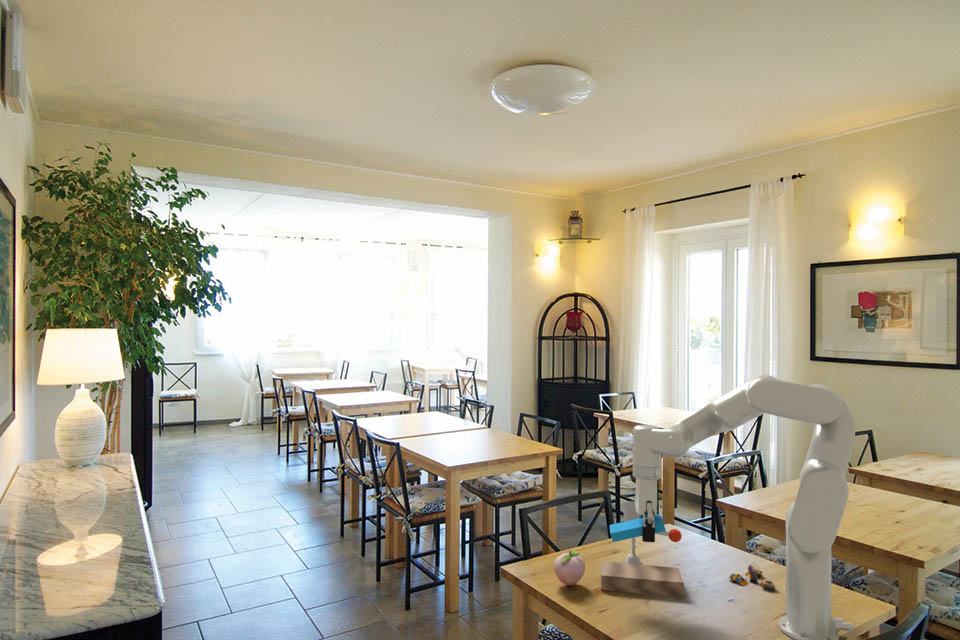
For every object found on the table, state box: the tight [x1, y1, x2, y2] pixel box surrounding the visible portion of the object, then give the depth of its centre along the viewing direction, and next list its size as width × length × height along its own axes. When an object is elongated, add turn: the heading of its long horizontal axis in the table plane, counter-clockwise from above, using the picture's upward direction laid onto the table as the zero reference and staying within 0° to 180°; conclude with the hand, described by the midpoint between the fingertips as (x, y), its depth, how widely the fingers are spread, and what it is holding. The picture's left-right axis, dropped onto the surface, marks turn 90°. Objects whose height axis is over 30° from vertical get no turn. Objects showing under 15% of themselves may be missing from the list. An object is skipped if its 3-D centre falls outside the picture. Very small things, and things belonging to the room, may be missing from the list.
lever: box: [609, 513, 682, 543], centre depth 157 cm, size 7×7×18 cm
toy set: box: [729, 564, 776, 593], centre depth 166 cm, size 12×11×5 cm
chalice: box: [621, 500, 643, 565], centre depth 180 cm, size 7×7×18 cm
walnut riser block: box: [600, 560, 685, 598], centre depth 164 cm, size 22×10×4 cm, turn 78°
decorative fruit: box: [553, 550, 586, 587], centre depth 164 cm, size 9×8×10 cm
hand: (646, 536), depth 157 cm, fingers closed on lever, 7 cm apart
